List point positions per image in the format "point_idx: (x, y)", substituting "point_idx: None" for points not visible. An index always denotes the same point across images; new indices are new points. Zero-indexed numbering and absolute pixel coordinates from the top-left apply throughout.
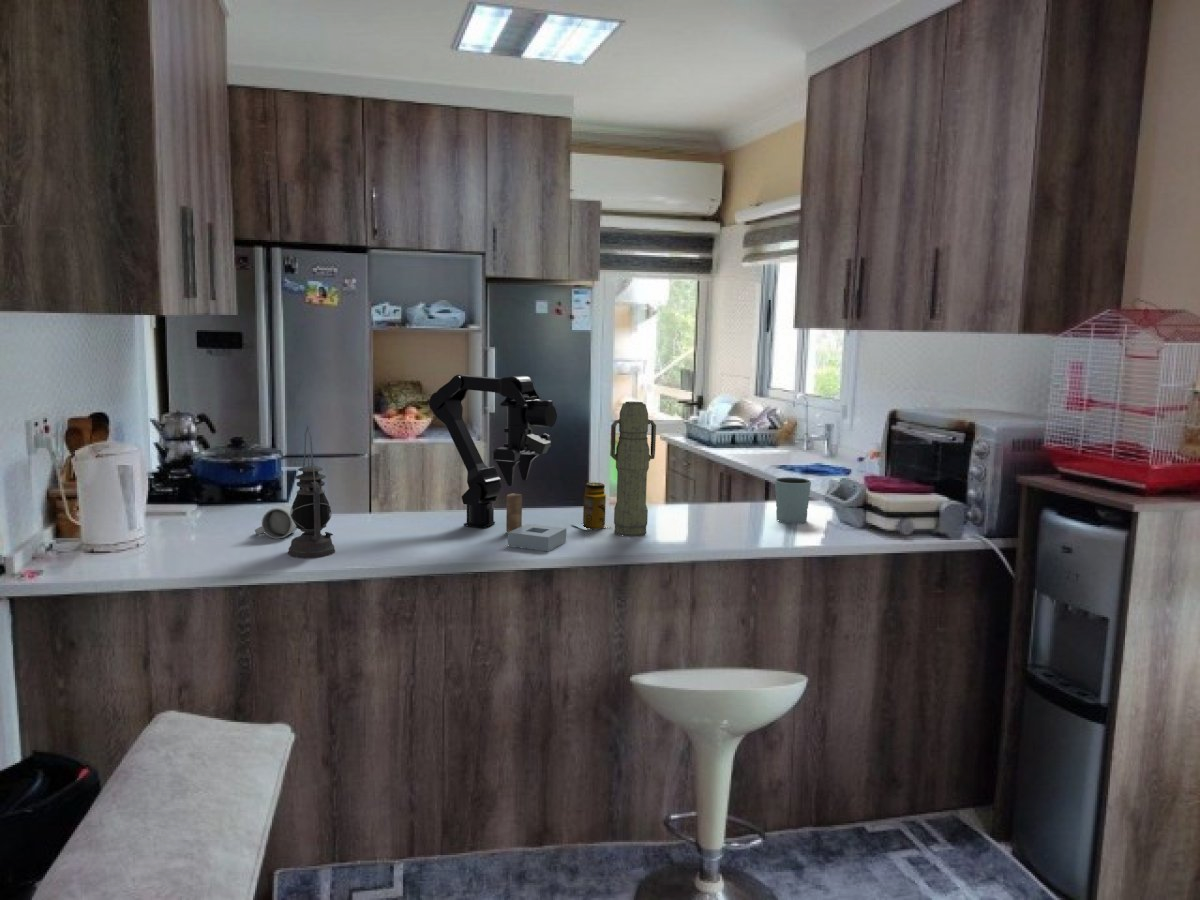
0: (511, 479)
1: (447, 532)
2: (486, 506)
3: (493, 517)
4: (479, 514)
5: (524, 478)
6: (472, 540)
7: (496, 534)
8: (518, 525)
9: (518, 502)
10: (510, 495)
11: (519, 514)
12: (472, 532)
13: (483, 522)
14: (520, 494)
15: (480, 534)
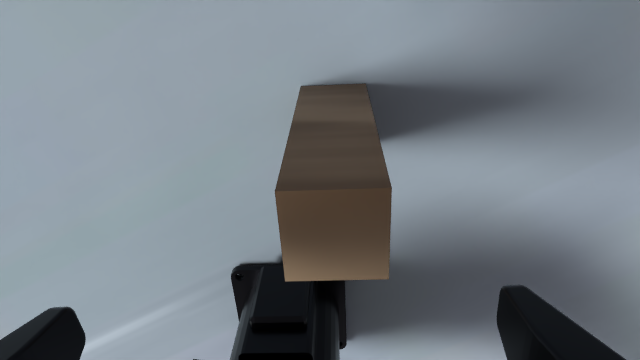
0: (601, 350)
1: (472, 339)
2: (310, 345)
3: (262, 283)
4: (332, 333)
5: (64, 337)
6: (585, 201)
7: (424, 165)
8: (343, 96)
9: (353, 158)
10: (379, 252)
11: (330, 120)
12: (432, 268)
13: (318, 291)
14: (285, 202)
15: (455, 225)
